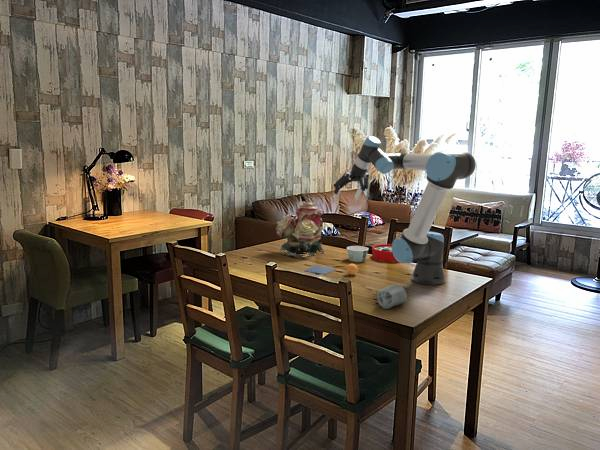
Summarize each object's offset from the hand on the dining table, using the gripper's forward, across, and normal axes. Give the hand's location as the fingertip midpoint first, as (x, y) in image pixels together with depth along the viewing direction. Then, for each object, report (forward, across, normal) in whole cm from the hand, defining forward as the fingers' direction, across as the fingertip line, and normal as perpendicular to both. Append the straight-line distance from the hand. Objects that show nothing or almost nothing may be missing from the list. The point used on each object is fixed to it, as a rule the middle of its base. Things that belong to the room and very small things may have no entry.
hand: (345, 198), depth 264 cm
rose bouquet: (+46, +5, -6) cm, 47 cm away
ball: (+16, +8, +35) cm, 39 cm away
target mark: (+26, +17, +25) cm, 40 cm away
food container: (+30, -13, +16) cm, 37 cm away
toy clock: (+27, -32, +20) cm, 46 cm away
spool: (-6, +20, +74) cm, 78 cm away
